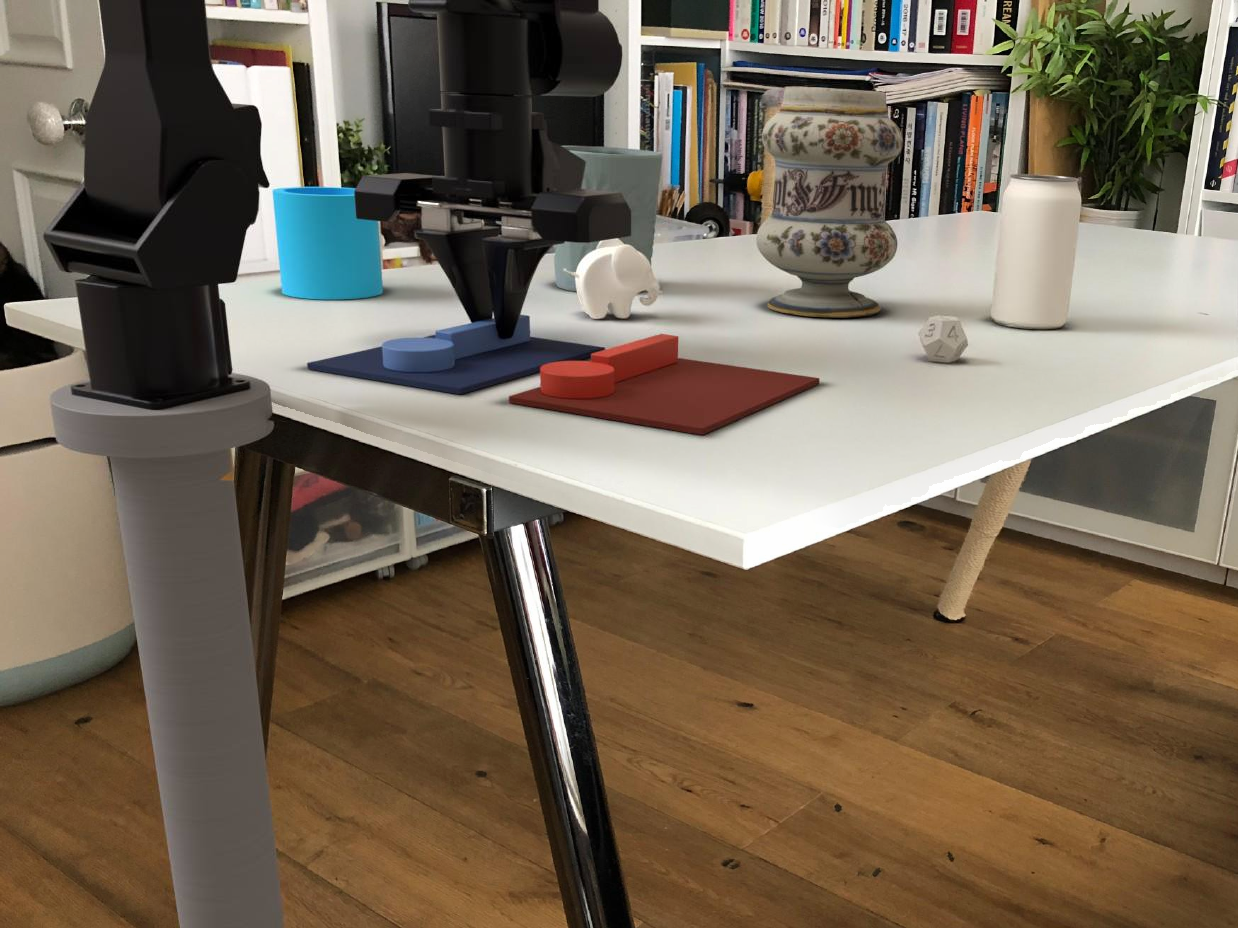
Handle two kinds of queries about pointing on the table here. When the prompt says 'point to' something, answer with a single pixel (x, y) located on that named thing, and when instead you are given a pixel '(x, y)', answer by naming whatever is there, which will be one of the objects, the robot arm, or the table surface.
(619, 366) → the red spoon
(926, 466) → the table surface
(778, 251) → the apothecary jar
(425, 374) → the blue mat
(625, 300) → the elephant figurine
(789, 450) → the table surface
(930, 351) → the game die
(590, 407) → the red mat
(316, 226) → the mug
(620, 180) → the green plant pot
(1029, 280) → the can
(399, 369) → the blue spoon
